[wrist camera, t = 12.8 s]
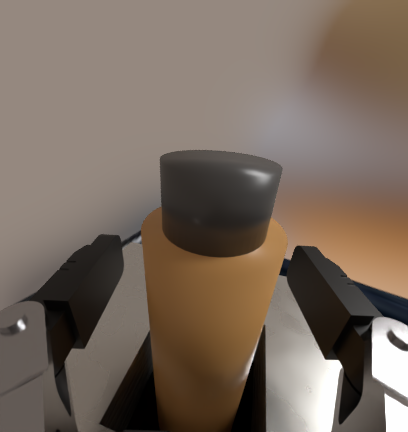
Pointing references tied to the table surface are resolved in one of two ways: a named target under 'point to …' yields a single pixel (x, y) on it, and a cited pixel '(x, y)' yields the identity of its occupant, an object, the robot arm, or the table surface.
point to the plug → (209, 282)
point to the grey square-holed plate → (143, 363)
